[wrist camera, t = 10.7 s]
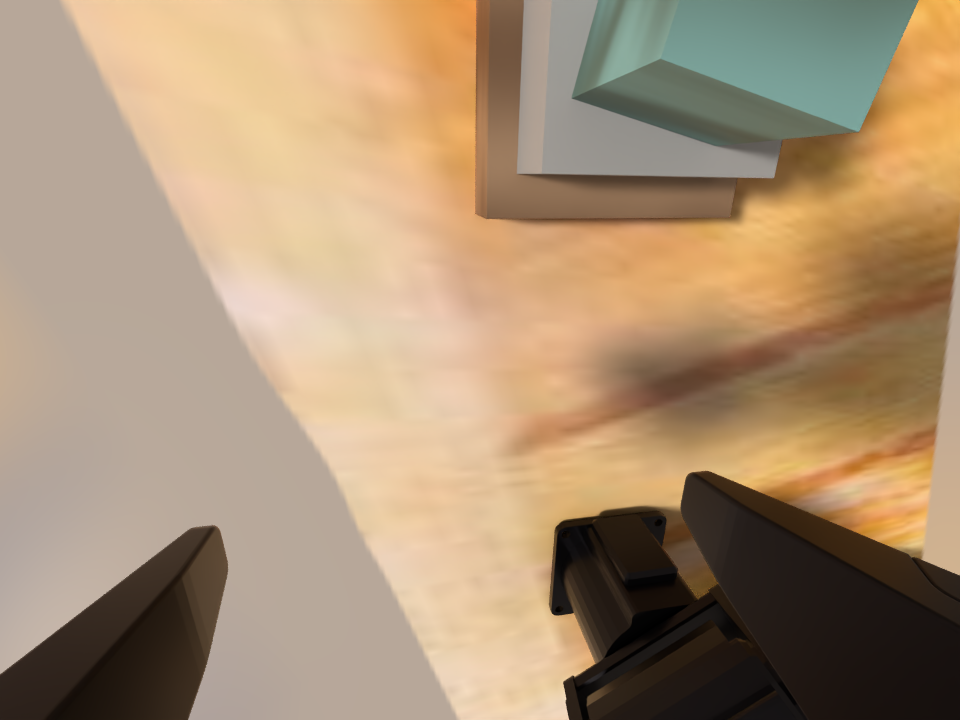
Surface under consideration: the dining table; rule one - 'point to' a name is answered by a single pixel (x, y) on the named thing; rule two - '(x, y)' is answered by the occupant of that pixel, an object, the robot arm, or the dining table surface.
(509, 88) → the walnut slab
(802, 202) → the dining table surface
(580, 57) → the grey slab
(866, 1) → the teal block
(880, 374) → the dining table surface
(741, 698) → the robot arm
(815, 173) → the dining table surface
